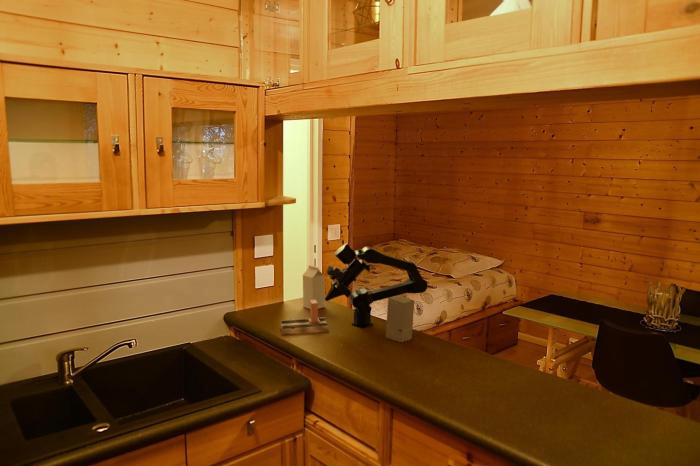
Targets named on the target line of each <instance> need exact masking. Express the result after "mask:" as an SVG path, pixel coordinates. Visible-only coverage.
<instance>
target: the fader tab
mask: <svg viewBox="0 0 700 466" xmlns="http://www.w3.org/2000/svg"><path fill="white" fill-rule="evenodd" d="M309 312H310V313H309V315H310V316H309V317H310V318H308V321H309V323H320V321H319V318H320V317H319V311H318V303H317V301H316V300H310V309H309Z"/></svg>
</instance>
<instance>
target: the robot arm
mask: <svg viewBox="0 0 700 466" xmlns="http://www.w3.org/2000/svg"><path fill="white" fill-rule="evenodd" d="M350 246H351V245H349V244H348V243H347V242H346V243H345V244H343V245H342V246H340V247H338V248H337V250H336V251H335V253H334V257H336V258H337V259H338V260H339V261H340V262H341V263H342V264H343V265H347V266H346V267H343V268H342V269H340V268H339V267H336V266H333V265H328V267H327V268H326V269H327V270H325V272H326V274H327V276H329V279H331V280H332V281H331V280H330V289H329V290H328V292H327V293H326V295H325V302H328V301H330V300H333V299H337V298H339V297H341V296H345V297H346V298H349V302H350V304H351V305H352V306H353V308H355V309H354V311H353V322H352V323H351V325H353V326H356V327H359V328H362V329H364V328H367V327H370V326H372V325H374V323H373V322H371V321H372V319H371V318H372V316H371V315H372V313H371V311H372V309H373V307H372V306H371V305H372V304H373V303H374V302H378V301H382V300H386V299H388V298H389V297H394V296H401V295H405V294H413V295H414V294H422V293H425V292H426V291H427V289H428V282H427V281H426V279H424V278H423V276H422V275H421V273H420V272H419V269H418V268H417V265H416V264H415V263H414V262H413V261H410V260H405V259H402V258H398V257H396V256H395V257H394V256H392V255H389V254H385V253H382V251H379V250H377V249H375V248H374V247H372V246H368V245H366V246H364V247H362V248H360V249H358V250H356V249H355V250H354V249H353V248H351V247H350ZM356 257H357V258H356ZM371 264H378V265H379V264H381V265H385V266H389V267H393V268H396V269H400V270H403V271H406V273H407V277H408V278H407V279H406V280H405V281H403V282H401V283H396V284H393V285H388V286H385V287H381V288H377V289H374V290H367V289H366V288H365V287H363V288H360V289H355V290H354V291H351V289H350V285H351V284H352V283H353V282H356V281H357V278H358V277H359V276H360V275H361V273H362V272H364V270H366V271H367V272H370V271H371V270H370V268H371Z"/></svg>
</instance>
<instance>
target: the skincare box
mask: <svg viewBox="0 0 700 466" xmlns="http://www.w3.org/2000/svg"><path fill="white" fill-rule="evenodd" d="M387 299H388V300H387V312H386V324H385V325H386V326H385V338H387V339H389V340H392V341H396V342H398V343H400V342H402V343H405V342H407V340H408V341H410V339H411V340H412V337H413V326H414V310H415V300H414V299H412V298H409V297H406V296H401V295H397V296H393V297H389V298H387ZM404 341H405V342H404Z"/></svg>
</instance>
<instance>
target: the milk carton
mask: <svg viewBox="0 0 700 466" xmlns="http://www.w3.org/2000/svg"><path fill="white" fill-rule="evenodd" d="M325 277H326V276H325V274H324V273H323V272H322V271H321V270H320V268H319V267H317V266H313V265H308V267H307V269H306V270H305V271H304V273H303V274H302V292H303V294H302V298H303V299H302V303H303V308H306V309H309V310H310V300H316V301H317V303H318V309H322V308H325V307H326V300H325V297H326V295H325V294H326V293H325V292H326V288H325V287H326V286H325V285H326V284H325V283H326V282H325V281H326V279H325Z"/></svg>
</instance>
